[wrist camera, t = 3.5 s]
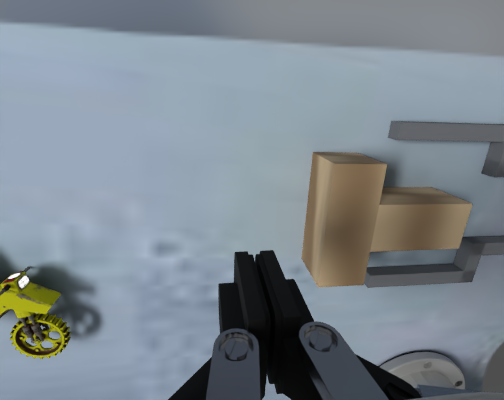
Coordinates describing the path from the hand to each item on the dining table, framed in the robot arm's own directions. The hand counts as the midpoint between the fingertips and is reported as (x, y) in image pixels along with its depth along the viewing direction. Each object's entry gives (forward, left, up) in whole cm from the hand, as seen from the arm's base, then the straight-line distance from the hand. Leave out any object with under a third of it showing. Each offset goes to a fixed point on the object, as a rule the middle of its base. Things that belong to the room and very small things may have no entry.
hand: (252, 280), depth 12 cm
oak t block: (-9, -6, -10) cm, 15 cm away
